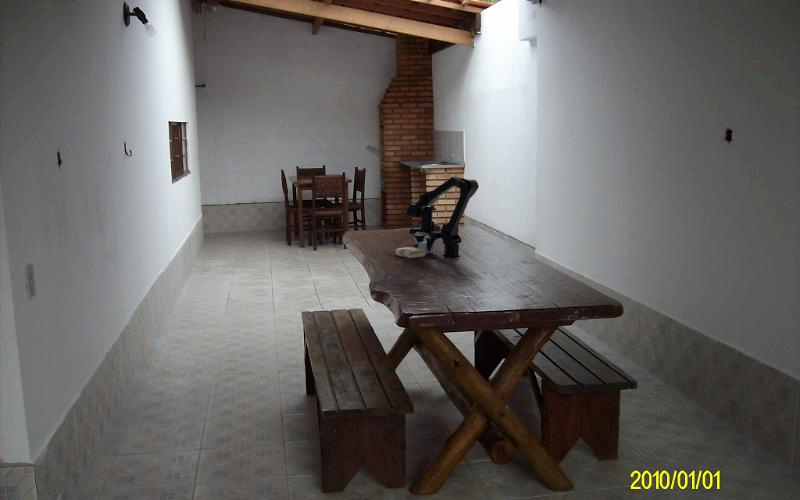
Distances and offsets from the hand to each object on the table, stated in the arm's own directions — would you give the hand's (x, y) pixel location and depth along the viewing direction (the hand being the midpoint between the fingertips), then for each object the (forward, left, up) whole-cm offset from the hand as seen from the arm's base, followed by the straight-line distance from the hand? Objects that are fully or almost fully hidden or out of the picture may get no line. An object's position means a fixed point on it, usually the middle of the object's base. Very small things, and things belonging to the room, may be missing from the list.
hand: (425, 250), depth 361 cm
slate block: (0, 0, -1) cm, 1 cm away
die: (+17, -15, -1) cm, 23 cm away
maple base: (-2, +12, -1) cm, 12 cm away
